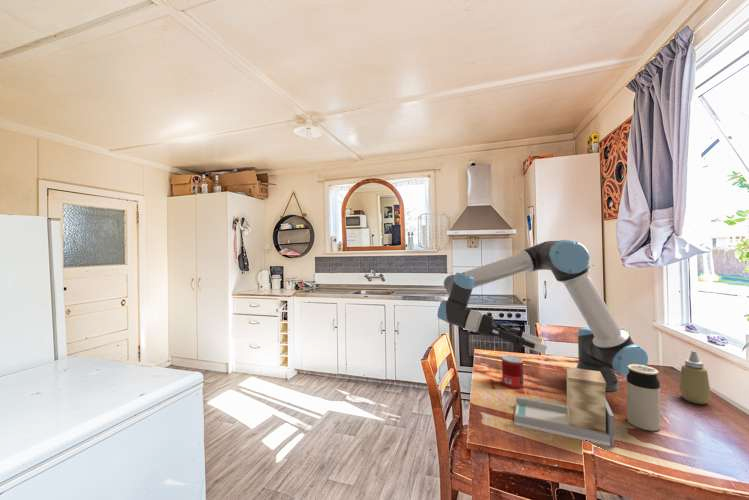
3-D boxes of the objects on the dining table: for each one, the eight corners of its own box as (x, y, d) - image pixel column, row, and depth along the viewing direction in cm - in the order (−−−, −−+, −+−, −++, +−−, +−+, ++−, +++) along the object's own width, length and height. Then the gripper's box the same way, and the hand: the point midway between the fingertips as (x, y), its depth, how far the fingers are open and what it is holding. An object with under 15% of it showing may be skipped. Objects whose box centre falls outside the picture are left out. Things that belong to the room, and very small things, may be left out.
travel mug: (663, 434, 93) (662, 375, 93) (629, 427, 97) (628, 370, 97) (656, 421, 100) (656, 366, 100) (625, 415, 104) (624, 362, 104)
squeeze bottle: (703, 397, 115) (702, 349, 114) (716, 408, 107) (715, 356, 107) (674, 393, 118) (674, 346, 118) (685, 403, 111) (684, 353, 111)
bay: (604, 422, 100) (604, 394, 100) (614, 447, 88) (613, 415, 88) (516, 404, 112) (516, 380, 112) (514, 424, 100) (513, 397, 100)
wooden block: (600, 421, 99) (600, 371, 99) (606, 437, 90) (606, 383, 90) (566, 414, 103) (565, 366, 103) (569, 429, 95) (568, 377, 95)
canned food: (525, 389, 124) (525, 362, 124) (504, 388, 126) (504, 361, 125) (520, 381, 131) (520, 355, 131) (500, 379, 133) (500, 354, 133)
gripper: (479, 328, 124) (537, 349, 116) (473, 338, 102) (544, 365, 93) (485, 310, 124) (542, 330, 115) (480, 316, 101) (551, 341, 93)
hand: (543, 346), depth 104 cm, fingers open, 13 cm apart
